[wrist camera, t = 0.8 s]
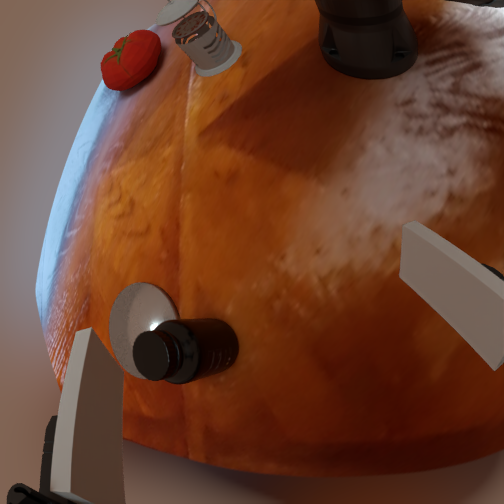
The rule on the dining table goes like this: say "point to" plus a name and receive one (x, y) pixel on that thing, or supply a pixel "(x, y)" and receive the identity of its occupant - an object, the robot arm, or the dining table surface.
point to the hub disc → (137, 319)
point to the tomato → (131, 60)
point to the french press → (200, 37)
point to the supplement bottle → (185, 350)
